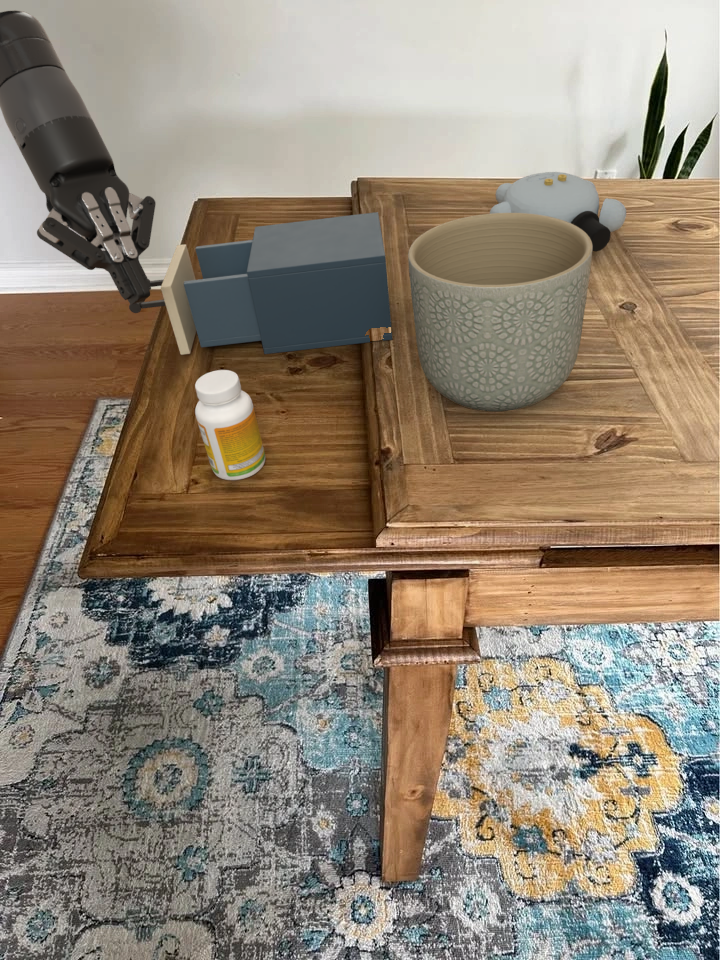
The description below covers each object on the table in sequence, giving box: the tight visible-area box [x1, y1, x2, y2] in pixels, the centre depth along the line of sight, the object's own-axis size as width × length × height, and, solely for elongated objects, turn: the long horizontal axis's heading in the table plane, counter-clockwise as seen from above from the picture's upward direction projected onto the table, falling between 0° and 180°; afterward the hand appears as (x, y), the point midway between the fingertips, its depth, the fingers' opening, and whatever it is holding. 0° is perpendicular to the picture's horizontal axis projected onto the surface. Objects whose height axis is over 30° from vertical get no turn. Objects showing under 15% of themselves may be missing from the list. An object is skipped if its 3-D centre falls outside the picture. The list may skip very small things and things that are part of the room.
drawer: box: [128, 239, 262, 356], centre depth 90 cm, size 20×12×9 cm, turn 92°
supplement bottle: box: [194, 369, 266, 481], centre depth 69 cm, size 5×5×10 cm
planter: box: [407, 213, 593, 413], centre depth 73 cm, size 17×17×15 cm
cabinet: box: [247, 211, 393, 355], centre depth 90 cm, size 16×14×11 cm
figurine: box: [489, 171, 627, 252], centre depth 103 cm, size 17×8×20 cm
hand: (140, 299), depth 74 cm, fingers closed
